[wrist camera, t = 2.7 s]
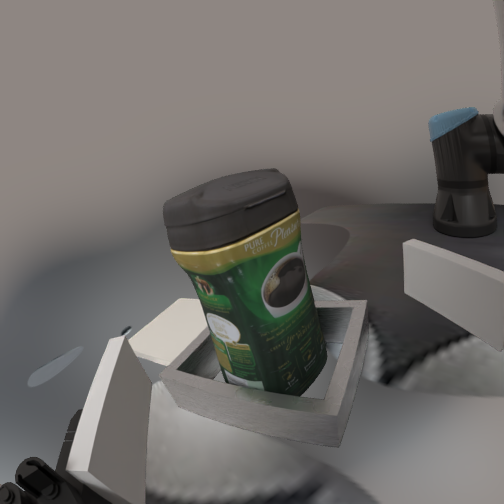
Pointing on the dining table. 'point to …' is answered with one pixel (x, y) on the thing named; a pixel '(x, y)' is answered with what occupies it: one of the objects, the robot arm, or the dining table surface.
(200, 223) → the coffee jar
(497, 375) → the dining table surface
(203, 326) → the placemat
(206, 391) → the collar stand
